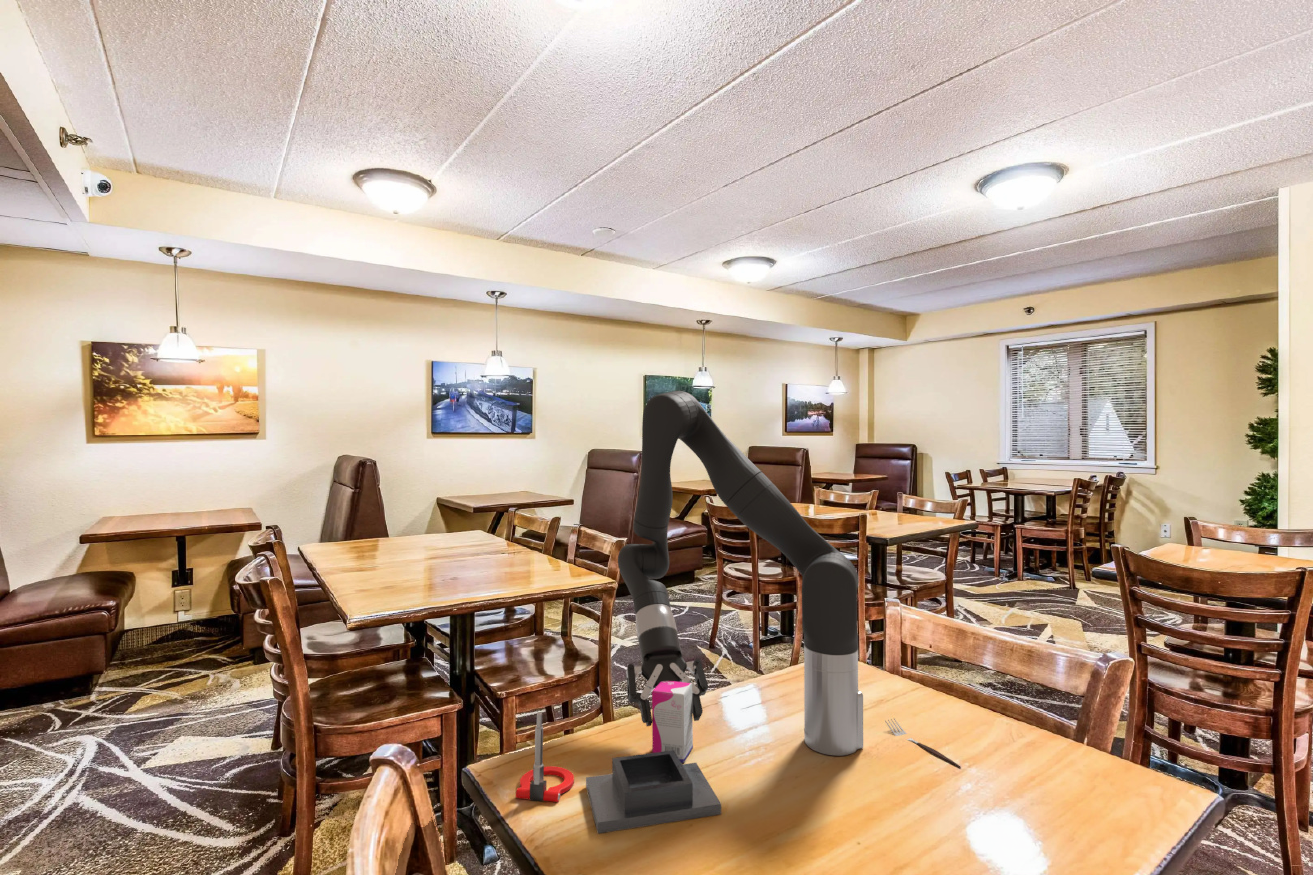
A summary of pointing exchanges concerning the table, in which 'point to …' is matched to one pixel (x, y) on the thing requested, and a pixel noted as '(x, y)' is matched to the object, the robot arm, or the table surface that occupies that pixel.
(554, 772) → the tow hook
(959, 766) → the fork
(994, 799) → the table surface
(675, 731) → the supplement box
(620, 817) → the socket plate
